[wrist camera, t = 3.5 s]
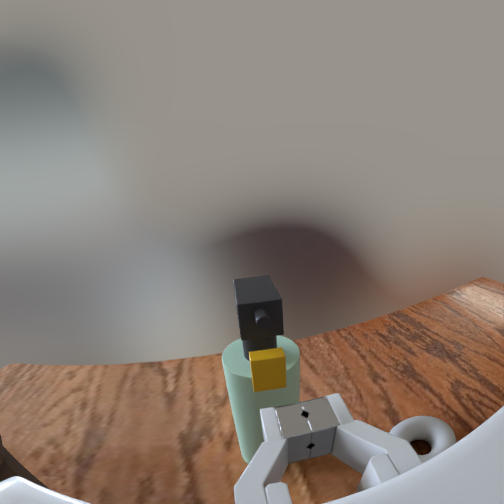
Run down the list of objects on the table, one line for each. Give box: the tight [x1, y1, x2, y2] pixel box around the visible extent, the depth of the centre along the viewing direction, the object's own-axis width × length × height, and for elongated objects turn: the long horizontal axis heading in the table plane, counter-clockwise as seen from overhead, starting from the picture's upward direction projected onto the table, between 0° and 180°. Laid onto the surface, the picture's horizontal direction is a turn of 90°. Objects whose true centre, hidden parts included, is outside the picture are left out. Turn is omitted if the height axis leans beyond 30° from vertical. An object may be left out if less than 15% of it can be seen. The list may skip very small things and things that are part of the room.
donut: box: [389, 416, 456, 463], centre depth 20 cm, size 10×4×10 cm
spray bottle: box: [222, 275, 300, 464], centre depth 24 cm, size 7×8×22 cm
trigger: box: [249, 347, 287, 392], centre depth 18 cm, size 2×1×3 cm, turn 96°
